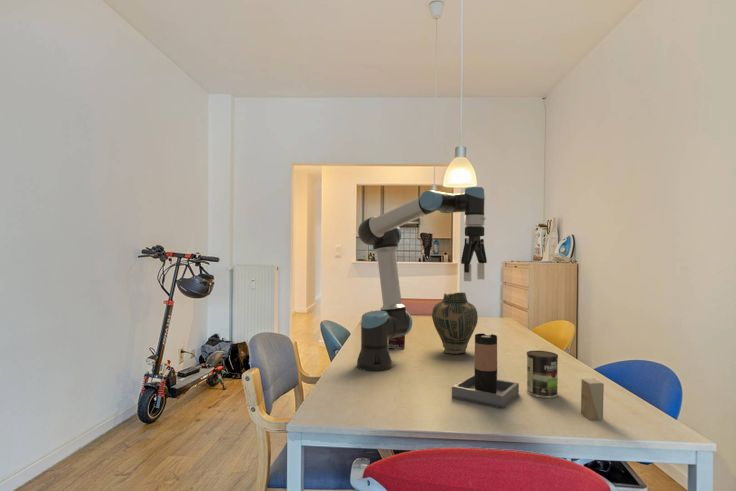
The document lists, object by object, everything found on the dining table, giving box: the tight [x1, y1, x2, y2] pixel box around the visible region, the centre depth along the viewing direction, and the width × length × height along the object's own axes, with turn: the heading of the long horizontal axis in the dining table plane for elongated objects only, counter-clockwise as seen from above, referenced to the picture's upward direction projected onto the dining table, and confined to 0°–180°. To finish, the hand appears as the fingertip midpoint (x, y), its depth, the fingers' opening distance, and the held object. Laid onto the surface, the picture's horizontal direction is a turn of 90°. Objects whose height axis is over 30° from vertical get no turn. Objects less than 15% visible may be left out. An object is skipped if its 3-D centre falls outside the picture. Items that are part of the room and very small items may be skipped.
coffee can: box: [526, 350, 559, 399], centre depth 155 cm, size 10×10×14 cm
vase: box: [431, 291, 479, 355], centre depth 216 cm, size 22×22×30 cm
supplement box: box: [388, 335, 406, 350], centre depth 225 cm, size 9×5×16 cm, turn 84°
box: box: [580, 378, 605, 421], centre depth 133 cm, size 5×4×11 cm
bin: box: [451, 374, 520, 410], centre depth 151 cm, size 17×17×4 cm
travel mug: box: [473, 333, 498, 394], centre depth 152 cm, size 8×8×20 cm
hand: (474, 280), depth 172 cm, fingers open, 13 cm apart
